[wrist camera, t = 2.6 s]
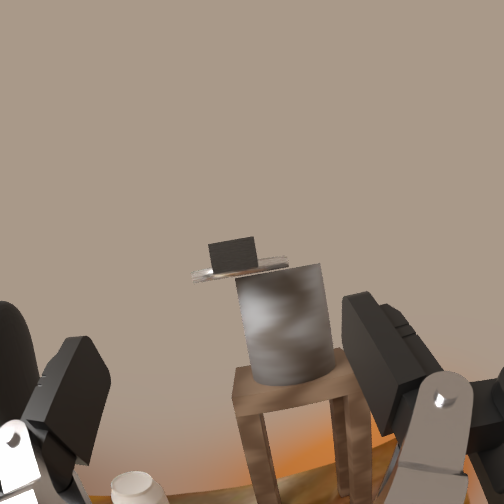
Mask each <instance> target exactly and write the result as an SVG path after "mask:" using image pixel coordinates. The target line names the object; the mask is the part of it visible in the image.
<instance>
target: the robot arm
mask: <svg viewBox="0 0 504 504" xmlns="http://www.w3.org/2000/svg"><path fill="white" fill-rule="evenodd" d="M342 344H343V348H344V352H345V355H346V357H347V359H348V361H349V363H350V366H351V368H352V370H353V372H354V374H355V377H356V379H357V381H358V383H359V386H360V388H361V390H362V392H363V395H364V397H365V399H366V401H367V404H368V406H369V408H370V411H371V413H372V415H373V417H374V419H375V422H376V424H377V427H378V429H379V431H380V434H381V436H382V437H384V436H387V435H389V434H392V433H394V434H395V437H396V439H397V441H398V442H397V445H396V447H395V450H394V453H393V456H392V458H391V461H390V464H389V466H388V469H387V471H386V474H385V476H384V479H383V481H382V484H381V486H380V488H379V491H378V493H377V495H376V497H375V499H374V502H373V504H464V500H465V496H466V492H467V488H468V475H467V474H466V473H464V472H463V465H464V460H465V455H468V456H469V458H470V461H471V463H472V465H473V467H474V470H475V472H476V474H477V477H478V479H479V481H480V484H481V486H482V489H483V491H484V494H485V496H486V499H487V501H488V504H504V367H503V369H502V370H501V372H500V374H499V376H498V378H495V379H489V380H483V381H476V382H468V381H467V380H466V379H465V378H464V377H463V376H461V375H459V374H457V373H455V372H450V371H444V370H443V369H442V368H441V366H440V365H439V363H438V362H437V361H436V359H435V358H434V356H433V355H432V354H431V352H430V351H429V349H428V348H427V347H426V345H425V344H424V343H423V341H422V340H421V339H420V337H419V336H418V335H416V332H415V331H414V329H413V328H412V327H411V326H409V323H408V321H407V320H406V319H405V317H404V316H403V315H402V314H401V312H400V311H398V310H396V309H395V308H393V307H391V306H390V305H388V304H383V305H378V304H377V302H376V301H375V299H374V298H373V297H372V296H371V294H370V293H369V292H367V291H366V292H361V293H357V294H353V295H348V296H344V297H343V300H342ZM110 385H111V377H110V373H109V370H108V368H107V367H106V365H105V363H104V361H103V360H102V358H101V356H100V354H99V353H98V351H97V349H96V347H95V345H94V344H93V342H92V340H91V339H90V338H89V337H88V336H79V337H69V338H66V339H65V341H64V342H63V344H62V346H61V348H60V350H59V352H58V353H57V354H56V355H55V356H54V357H53V358H52V359H51V360H50V361H49V362H48V364H47V366H46V368H45V369H44V371H43V373H42V377H41V378H40V377H39V372H38V367H37V362H36V358H35V353H34V348H33V343H32V339H31V335H30V332H29V329H28V326H27V324H26V322H25V320H24V318H23V316H22V315H21V313H20V311H19V310H18V309H17V308H16V307H15V306H14V305H13V304H11V303H9V302H6V301H0V504H92V503H91V501H90V499H89V497H88V495H87V493H86V491H85V489H84V487H83V485H82V482H81V480H80V478H79V476H78V474H77V473H76V472H75V471H74V466H75V464H79V465H87V466H89V463H90V458H91V455H92V450H93V446H94V442H95V438H96V435H97V431H98V427H99V424H100V420H101V416H102V413H103V410H104V406H105V403H106V399H107V396H108V392H109V389H110Z"/></svg>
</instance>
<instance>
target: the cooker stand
mask: <svg viewBox="0 0 504 504" xmlns="http://www.w3.org/2000/svg"><path fill="white" fill-rule="evenodd" d="M235 281H236V287H237V293H238V298H239V303H240V309H241V314H242V321H243V326H244V331H245V336H246V342H247V348H248V353H249V358H250V364H251V365H250V366H244V367H237V368H236V372H235V378H234V385H233V392H232V401H233V405H234V410H235V414H236V419H237V423H238V428H239V432H240V436H241V440H242V445H243V449H244V452H245V457H246V461H247V465H248V468H249V473H250V477H251V481H252V484H253V488H254V492H255V496H256V499H257V503H258V504H281V499H280V495H279V490H278V485H277V480H276V476H275V471H274V466H273V461H272V456H271V451H270V446H269V441H268V437H267V431H266V426H265V421H264V416H263V413H267V412H273V411H278V410H283V409H288V408H294V407H299V406H303V405H307V404H313V403H317V402H321V401H325V400H329V402H330V410H331V419H332V429H333V439H334V449H335V461H336V473H337V487H338V492H339V494H340V496H341V497H345V496H348V495H350V504H371V501H372V438H371V416H370V408H369V406H368V404H367V401H366V399H365V397H364V395H363V392H362V390H361V388H360V386H359V383H358V381H357V379H356V377H355V374H354V372H353V370H352V368H351V366H350V363H349V361H348V359H347V357H346V355H345V352H344V350H342V349H341V348H335V349H333V342H332V335H331V328H330V321H329V314H328V308H327V302H326V295H325V290H324V284H323V277H322V272H321V266H320V263H318V264H313V265H307V266H302V267H296V268H291V269H285V270H280V271H274V272H269V273H263V274H257V275H252V276H246V277H241V278H235Z"/></svg>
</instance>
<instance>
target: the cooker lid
mask: <svg viewBox="0 0 504 504" xmlns="http://www.w3.org/2000/svg"><path fill="white" fill-rule="evenodd" d="M208 246H209V252H210V258H211V264H212V268H207V269H203V270H198V271H194V272H192V273H191V274H192V280H193V283H199V282H205V281H211V280H217V279H223V278H229V277H235V276H241V275H246V274H252V273H258V272H263V271H269V270H274V269H279V268H285V267H289V265H288V259H287V256H280V257H272V258H265V259H258V260H257V254H256V248H255V243H254V237H247V238H241V239H235V240H230V241H224V242H218V243H213V244H208Z"/></svg>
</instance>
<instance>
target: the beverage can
mask: <svg viewBox="0 0 504 504" xmlns="http://www.w3.org/2000/svg"><path fill="white" fill-rule="evenodd" d="M111 488H112V493H111V499H112V502H113V503H114V504H169V501H168V499H167V497H166V495H165V492H164V490H163V488H162V486H161V485H160V484H159V483H157V482H156V481H155V480H153V479H152V477H151V476H150V475H149V474H148V473H145V472H140V471H132V472H126V473H123V474H121V475H119V476H117V477H115V478H114V479H113V481H112V482H111Z"/></svg>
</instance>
